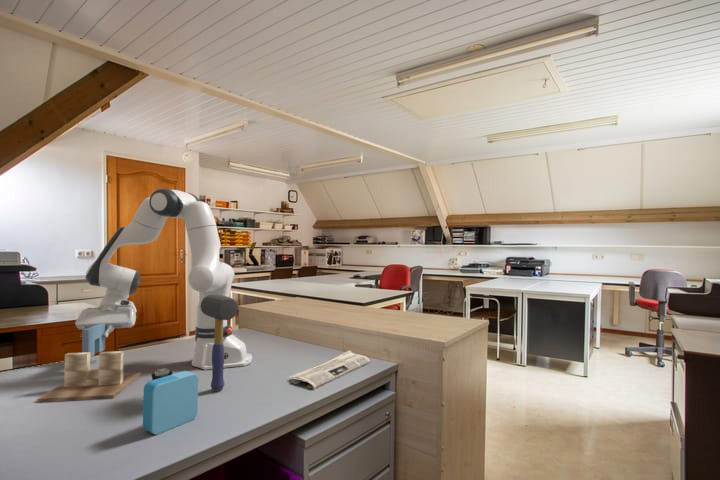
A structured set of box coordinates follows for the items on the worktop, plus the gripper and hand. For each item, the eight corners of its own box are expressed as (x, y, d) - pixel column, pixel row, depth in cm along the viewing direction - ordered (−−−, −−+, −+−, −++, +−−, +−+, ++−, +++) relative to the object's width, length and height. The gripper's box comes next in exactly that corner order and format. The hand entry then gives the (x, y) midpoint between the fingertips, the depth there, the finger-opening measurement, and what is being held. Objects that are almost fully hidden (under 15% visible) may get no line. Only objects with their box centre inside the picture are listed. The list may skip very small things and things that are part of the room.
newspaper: (313, 391, 119) (314, 380, 119) (285, 383, 126) (285, 372, 126) (371, 363, 148) (372, 354, 148) (346, 358, 155) (346, 349, 155)
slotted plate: (99, 349, 144) (99, 323, 144) (105, 349, 144) (105, 323, 145) (82, 358, 132) (82, 330, 132) (88, 358, 133) (88, 330, 133)
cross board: (140, 375, 130) (141, 343, 130) (113, 398, 110) (114, 361, 111) (76, 378, 127) (77, 345, 127) (37, 402, 107) (38, 364, 107)
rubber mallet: (238, 392, 116) (240, 295, 117) (216, 399, 111) (217, 298, 111) (218, 382, 124) (220, 292, 125) (196, 388, 119) (198, 294, 119)
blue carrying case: (188, 413, 101) (188, 369, 101) (198, 418, 98) (198, 372, 99) (142, 431, 91) (143, 382, 91) (152, 437, 88) (153, 386, 89)
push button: (176, 407, 105) (177, 371, 105) (155, 412, 101) (156, 375, 101) (168, 400, 110) (168, 366, 110) (148, 405, 106) (148, 370, 106)
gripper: (80, 303, 148) (65, 333, 138) (136, 301, 152) (125, 330, 142) (86, 312, 152) (72, 342, 143) (141, 310, 156) (130, 339, 146)
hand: (99, 336), depth 142 cm, fingers closed on slotted plate, 2 cm apart
